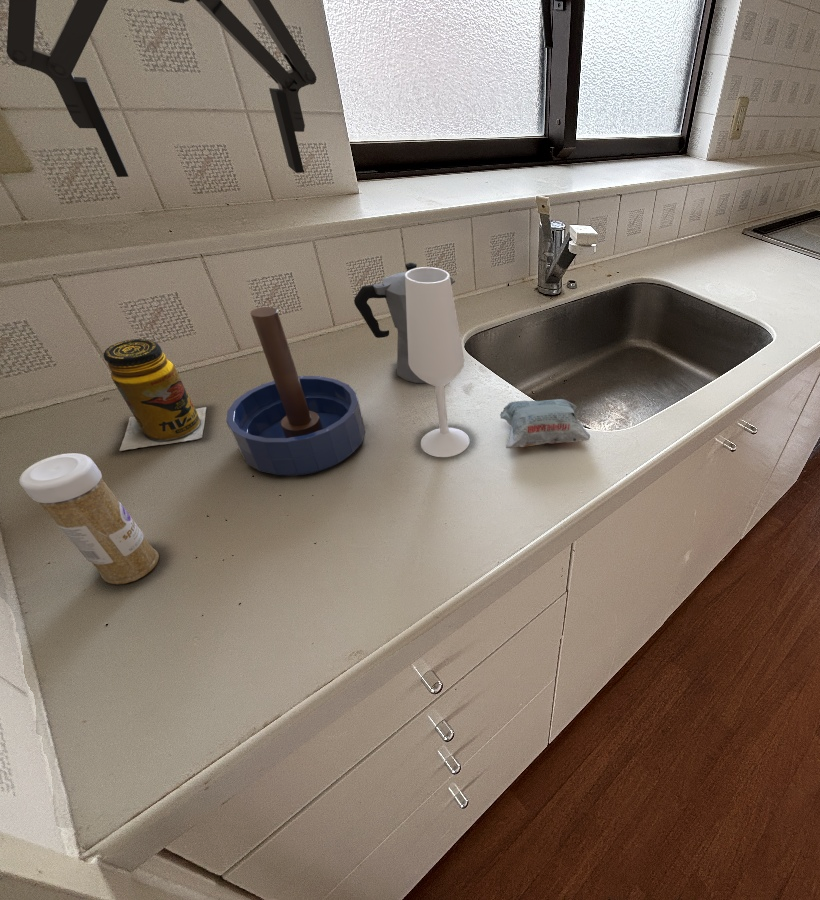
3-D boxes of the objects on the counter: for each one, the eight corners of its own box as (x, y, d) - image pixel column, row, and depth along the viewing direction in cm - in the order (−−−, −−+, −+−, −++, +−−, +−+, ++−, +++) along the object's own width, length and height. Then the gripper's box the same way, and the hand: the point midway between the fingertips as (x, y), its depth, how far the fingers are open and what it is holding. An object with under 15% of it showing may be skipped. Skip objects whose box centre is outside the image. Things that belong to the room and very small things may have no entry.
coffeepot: (448, 348, 90) (439, 247, 79) (473, 372, 85) (467, 268, 74) (361, 369, 82) (336, 259, 71) (382, 397, 77) (360, 284, 65)
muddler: (282, 448, 64) (233, 319, 53) (293, 427, 68) (249, 302, 56) (319, 448, 65) (279, 321, 54) (328, 427, 69) (291, 304, 57)
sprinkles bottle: (168, 565, 51) (100, 467, 42) (113, 594, 48) (27, 495, 39) (148, 542, 52) (78, 444, 44) (94, 569, 49) (7, 469, 41)
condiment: (202, 439, 65) (161, 358, 58) (119, 452, 62) (65, 368, 54) (207, 408, 70) (170, 330, 62) (130, 418, 67) (82, 337, 59)
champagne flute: (439, 422, 74) (420, 259, 58) (478, 436, 72) (470, 273, 57) (410, 447, 69) (381, 276, 53) (452, 463, 67) (435, 292, 52)
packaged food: (588, 451, 72) (591, 424, 69) (506, 458, 69) (505, 430, 66) (574, 417, 79) (577, 390, 76) (499, 422, 75) (498, 394, 72)
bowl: (223, 480, 60) (204, 442, 56) (266, 410, 71) (253, 374, 67) (352, 478, 63) (342, 441, 59) (375, 411, 74) (367, 376, 70)
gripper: (-242, -295, 24) (28, 187, 37) (316, -136, 37) (367, 176, 51) (-198, -257, 28) (30, 164, 42) (289, -127, 42) (343, 160, 55)
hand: (216, 171), depth 46 cm, fingers open, 13 cm apart
